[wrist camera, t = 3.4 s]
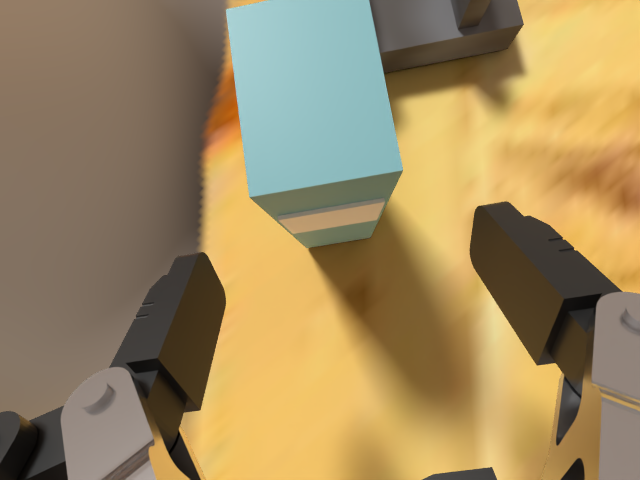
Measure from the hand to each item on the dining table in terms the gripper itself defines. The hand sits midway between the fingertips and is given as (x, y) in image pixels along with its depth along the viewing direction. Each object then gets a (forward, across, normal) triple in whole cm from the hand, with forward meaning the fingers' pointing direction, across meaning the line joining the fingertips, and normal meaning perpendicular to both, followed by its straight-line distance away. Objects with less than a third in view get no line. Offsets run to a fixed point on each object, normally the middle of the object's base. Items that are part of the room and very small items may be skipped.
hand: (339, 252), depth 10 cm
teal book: (+10, 0, +4) cm, 11 cm away
